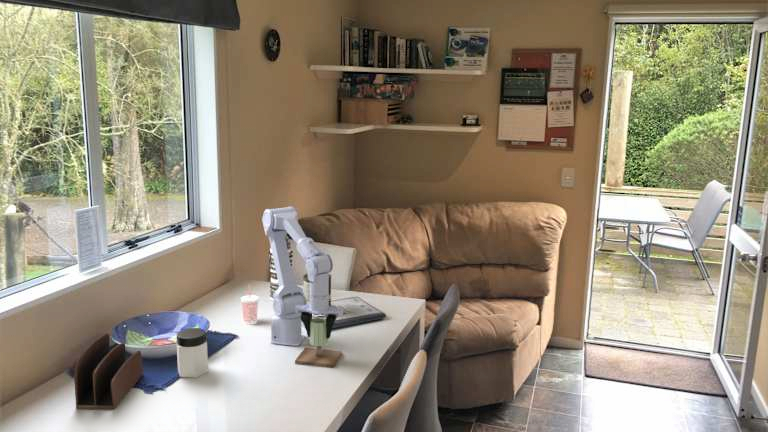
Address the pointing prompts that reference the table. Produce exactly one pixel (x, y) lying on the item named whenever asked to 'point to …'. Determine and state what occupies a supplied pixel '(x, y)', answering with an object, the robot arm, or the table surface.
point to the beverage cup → (250, 308)
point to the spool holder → (318, 357)
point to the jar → (192, 352)
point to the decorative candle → (274, 280)
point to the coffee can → (307, 289)
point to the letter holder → (105, 374)
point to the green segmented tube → (318, 332)
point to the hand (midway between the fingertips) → (319, 336)
